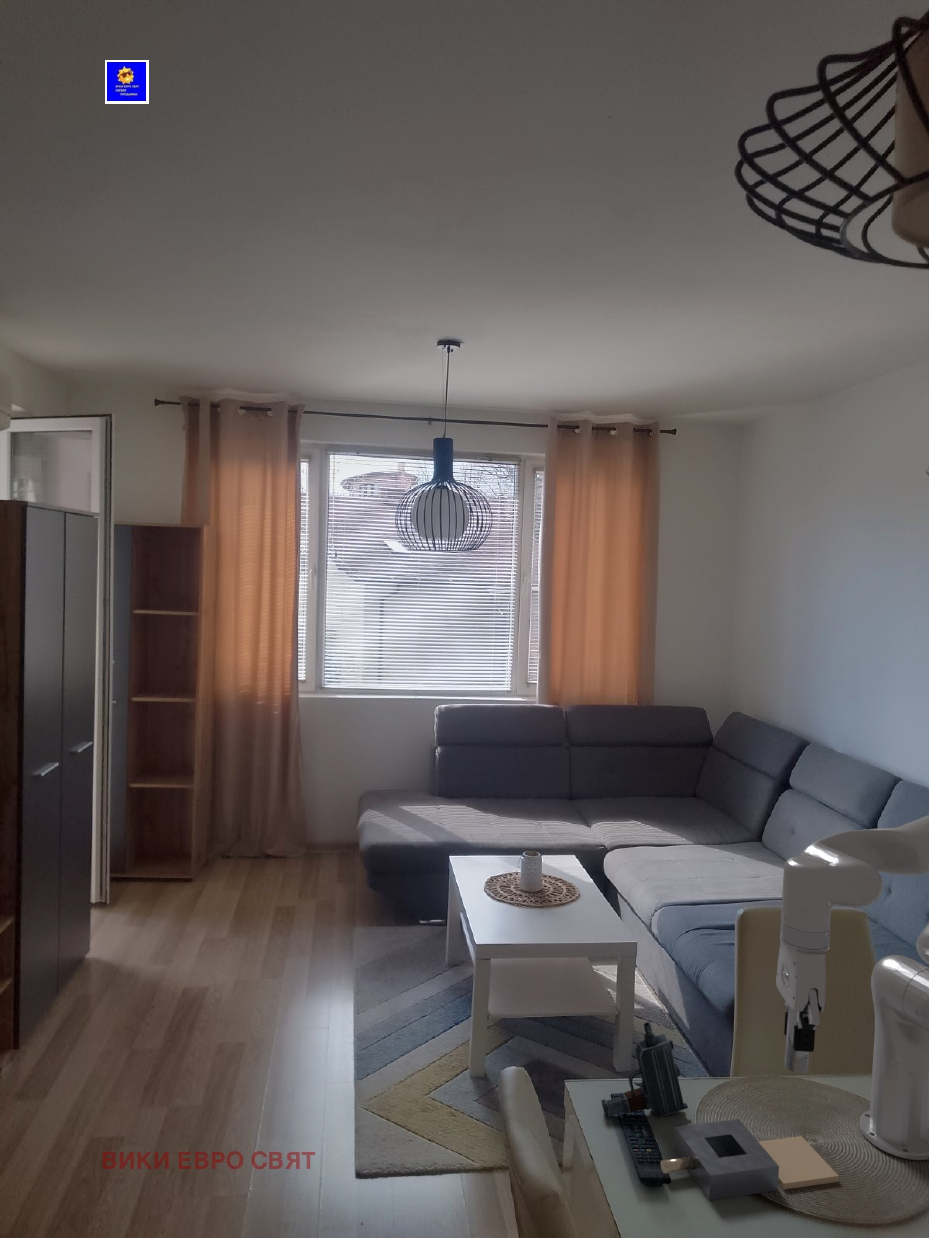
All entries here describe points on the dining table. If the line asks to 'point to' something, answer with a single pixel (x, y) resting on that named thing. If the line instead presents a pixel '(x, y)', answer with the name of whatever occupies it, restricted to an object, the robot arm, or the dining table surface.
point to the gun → (651, 1080)
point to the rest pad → (798, 1163)
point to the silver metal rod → (793, 1059)
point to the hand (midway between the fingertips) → (798, 1041)
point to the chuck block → (723, 1159)
